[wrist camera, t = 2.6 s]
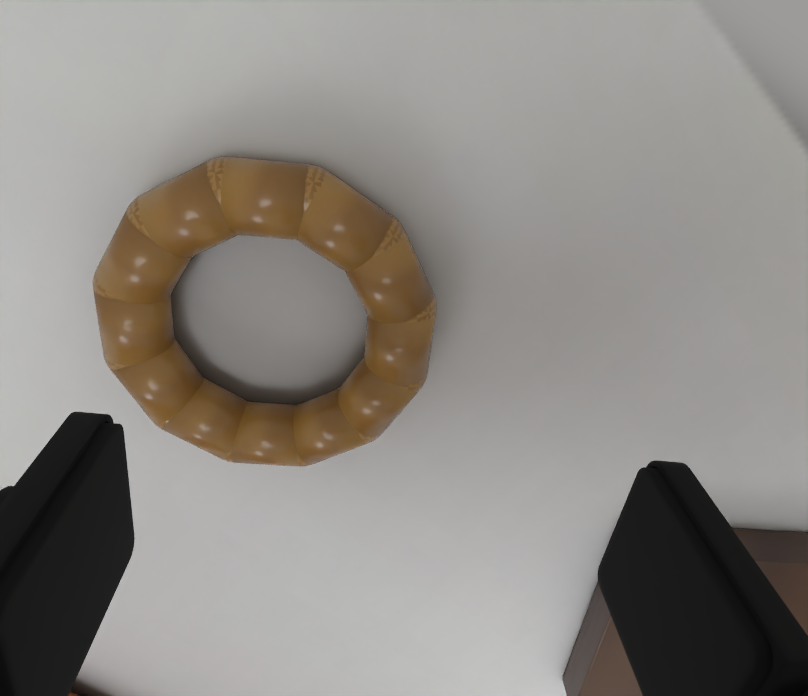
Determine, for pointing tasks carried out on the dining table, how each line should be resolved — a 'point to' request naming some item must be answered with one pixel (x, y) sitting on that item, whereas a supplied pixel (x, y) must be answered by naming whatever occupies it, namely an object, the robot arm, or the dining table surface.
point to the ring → (277, 218)
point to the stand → (602, 648)
